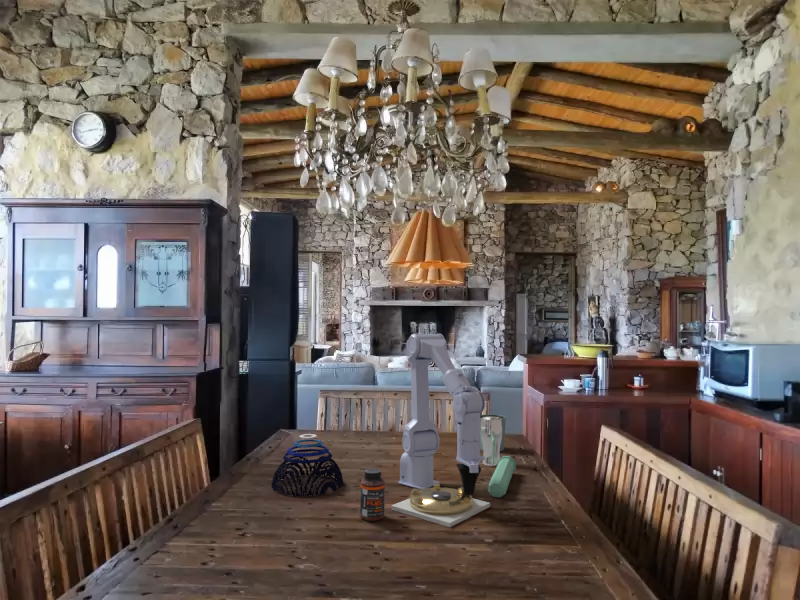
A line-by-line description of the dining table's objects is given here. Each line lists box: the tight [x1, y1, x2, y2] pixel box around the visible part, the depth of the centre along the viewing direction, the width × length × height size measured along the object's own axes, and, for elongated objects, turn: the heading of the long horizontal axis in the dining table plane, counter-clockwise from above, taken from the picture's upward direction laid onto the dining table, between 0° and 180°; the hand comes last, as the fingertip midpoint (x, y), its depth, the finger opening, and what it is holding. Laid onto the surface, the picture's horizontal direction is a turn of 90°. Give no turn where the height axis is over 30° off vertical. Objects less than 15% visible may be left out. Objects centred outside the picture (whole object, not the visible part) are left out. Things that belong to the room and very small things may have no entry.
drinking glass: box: [480, 413, 507, 452], centre depth 200 cm, size 10×10×12 cm
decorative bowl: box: [271, 433, 344, 497], centre depth 158 cm, size 20×20×14 cm
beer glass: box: [481, 416, 502, 467], centre depth 181 cm, size 7×7×15 cm
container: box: [488, 455, 517, 498], centre depth 158 cm, size 6×6×25 cm
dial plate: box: [391, 497, 491, 528], centre depth 139 cm, size 18×18×1 cm
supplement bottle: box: [359, 468, 386, 522], centre depth 132 cm, size 6×6×11 cm
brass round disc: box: [409, 483, 474, 515], centre depth 139 cm, size 16×16×6 cm
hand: (468, 493), depth 136 cm, fingers closed
